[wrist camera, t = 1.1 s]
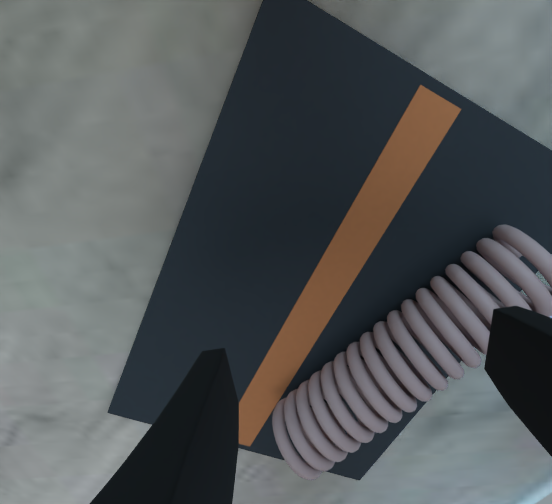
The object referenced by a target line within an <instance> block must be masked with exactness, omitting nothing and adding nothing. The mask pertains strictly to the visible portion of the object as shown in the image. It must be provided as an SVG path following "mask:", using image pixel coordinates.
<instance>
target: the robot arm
mask: <svg viewBox="0 0 552 504" xmlns="http://www.w3.org/2000/svg"><path fill="white" fill-rule="evenodd" d="M484 369H485V370H486V372H487V374H488V375H489V377H490V378H491V380H492V381H493V383H494V385H495V386H496V388H497V389H498V391H499V392H500V394H501V395H502V396H503V398H504V399H505V401H506V402H507V404H508V405H509V406H510V408H511V409H512V410H513V411H514V413H515V414H516V415H517V416H518V417H519V419H520V420H521V421H522V422H523V423H524V425H525V426H526V427H527V428H528V429H529V431H530V432H531V433H532V434H533V435H534V436H535V438H536V439H537V440H538V441H539V442H540V444H541V445H542V446H543V447H544V448H545V449H546V451H547V452H548V453H549V454H550V455H551V456H552V316H550V317H547V316H545V315H542V314H540V313H537V312H534V311H531V310H528V309H525V308H522V307H519V306H511V307H504V308H497V309H493V315H492V322H491V328H490V335H489V341H488V348H487V355H486V361H485V368H484ZM238 444H239V402H238V398H237V394H236V390H235V386H234V382H233V378H232V374H231V370H230V366H229V362H228V358H227V354H226V350H225V348H220V349H213V350H206V351H202V352H201V353H200V355H199V356H198V358H197V359H196V361H195V362H194V364H193V365H192V367H191V369H190V370H189V372H188V373H187V375H186V376H185V378H184V379H183V381H182V382H181V384H180V385H179V387H178V389H177V390H176V392H175V393H174V395H173V396H172V397H171V399H170V400H169V402H168V403H167V405H166V406H165V408H164V409H163V410H162V412H161V413H160V415H159V416H158V418H157V419H156V421H155V422H154V423H153V425H152V426H151V427H150V429H149V430H148V431H147V433H146V434H145V435H144V437H143V438H142V439H141V441H140V442H139V443H138V445H137V446H136V447H135V449H134V450H133V451H132V453H131V454H130V455H129V456H128V458H127V459H126V460H125V462H124V463H123V464H122V466H121V467H120V468H119V469H118V470H117V472H116V473H115V474H114V475H113V477H112V478H111V479H110V480H109V482H108V483H107V484H106V485H105V486H104V488H103V489H102V490H101V491H100V492H99V493H98V495H97V496H96V497H95V498H94V499H93V500H92V502H91V503H90V504H232V499H233V490H234V482H235V473H236V463H237V454H238Z"/></svg>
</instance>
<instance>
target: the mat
mask: <svg viewBox="0 0 552 504" xmlns="http://www.w3.org/2000/svg"><path fill="white" fill-rule="evenodd" d="M498 225H509V226H512V227H514V228H516V229H518V230H520V231H522V232H523V233H525V234H526V235H528V236H529V237H531V238H532V239H533V240H535V241H536V242H537V243H539V244H540V245H541V246H542V247H543V248H544V249H546V250H547V251H548V252H549V253H550V254H551V255H552V151H551V150H550V149H548V148H547V147H545V146H543V145H542V144H540V143H538V142H537V141H535V140H534V139H532V138H530V137H529V136H527V135H525V134H524V133H522V132H520V131H519V130H517V129H516V128H514V127H512V126H511V125H509V124H507V123H506V122H504V121H503V120H501V119H499V118H498V117H496V116H494V115H493V114H491V113H489V112H488V111H486V110H485V109H483V108H481V107H480V106H478V105H476V104H475V103H473V102H472V101H470V100H468V99H467V98H465V97H463V96H462V95H460V94H459V93H457V92H455V91H454V90H452V89H450V88H449V87H447V86H445V85H444V84H442V83H441V82H439V81H437V80H436V79H434V78H432V77H431V76H429V75H428V74H426V73H424V72H423V71H421V70H419V69H418V68H416V67H415V66H413V65H411V64H410V63H408V62H406V61H405V60H403V59H401V58H400V57H398V56H397V55H395V54H393V53H392V52H390V51H388V50H387V49H385V48H384V47H382V46H380V45H379V44H377V43H375V42H374V41H372V40H370V39H369V38H367V37H366V36H364V35H362V34H361V33H359V32H357V31H356V30H354V29H353V28H351V27H349V26H348V25H346V24H344V23H343V22H341V21H340V20H338V19H336V18H335V17H333V16H331V15H330V14H328V13H326V12H325V11H323V10H322V9H320V8H318V7H317V6H315V5H313V4H312V3H310V2H309V1H307V0H263V2H262V5H261V7H260V10H259V12H258V15H257V18H256V20H255V23H254V26H253V28H252V31H251V34H250V36H249V39H248V42H247V44H246V47H245V50H244V52H243V55H242V58H241V60H240V63H239V65H238V68H237V71H236V73H235V76H234V79H233V81H232V84H231V87H230V89H229V92H228V95H227V97H226V100H225V103H224V105H223V108H222V111H221V113H220V116H219V118H218V121H217V124H216V126H215V129H214V132H213V134H212V137H211V140H210V142H209V145H208V148H207V150H206V153H205V156H204V158H203V161H202V164H201V166H200V169H199V171H198V174H197V177H196V179H195V182H194V185H193V187H192V190H191V193H190V195H189V198H188V201H187V203H186V206H185V209H184V211H183V214H182V217H181V219H180V222H179V224H178V227H177V230H176V232H175V235H174V238H173V240H172V243H171V246H170V248H169V251H168V254H167V256H166V259H165V262H164V264H163V267H162V270H161V272H160V275H159V277H158V280H157V283H156V285H155V288H154V291H153V293H152V296H151V299H150V301H149V304H148V307H147V309H146V312H145V315H144V317H143V320H142V323H141V325H140V328H139V330H138V333H137V336H136V338H135V341H134V344H133V346H132V349H131V352H130V354H129V357H128V360H127V362H126V365H125V368H124V370H123V373H122V376H121V378H120V381H119V383H118V386H117V389H116V391H115V394H114V397H113V399H112V402H111V405H110V407H109V410H108V413H111V414H114V415H118V416H122V417H125V418H129V419H133V420H137V421H140V422H144V423H148V424H152V425H153V423H154V422H155V421H156V419H157V418H158V416H159V415H160V413H161V412H162V410H163V409H164V408H165V406H166V405H167V403H168V402H169V400H170V399H171V397H172V396H173V395H174V393H175V392H176V390H177V389H178V387H179V385H180V384H181V382H182V381H183V379H184V378H185V376H186V375H187V373H188V372H189V370H190V369H191V367H192V365H193V364H194V362H195V361H196V359H197V358H198V356H199V355H200V353H201V352H202V351H206V350H213V349H220V348H225V350H226V354H227V358H228V362H229V366H230V370H231V374H232V378H233V382H234V386H235V390H236V394H237V398H238V402H239V444H238V448H241V449H245V450H248V451H252V452H256V453H260V454H263V455H267V456H271V457H274V458H278V459H282V460H285V459H284V458H283V456H282V454H281V452H280V450H279V448H278V445H277V443H276V440H275V436H274V432H273V425H272V416H273V411H274V408H275V407H276V405H277V403H278V402H279V401H280V400H282V399H284V398H287V396H288V394H289V393H290V392H291V391H293V390H295V389H298V388H299V386H300V384H301V383H303V382H304V381H306V380H310V378H311V376H312V375H313V374H314V373H315V372H317V371H322V368H323V366H324V365H325V364H326V363H328V362H330V361H334V359H335V357H336V355H337V354H339V353H341V352H346V351H347V348H348V346H349V345H350V344H351V343H353V342H360V338H361V336H362V334H363V333H365V332H373V327H374V325H375V324H376V323H377V322H379V321H385V322H387V316H388V314H389V312H391V311H393V310H398V311H400V312H402V310H401V304H402V303H403V301H405V300H406V299H412V300H414V301H416V302H417V303H418V301H417V299H416V292H417V290H418V289H420V288H426V289H428V290H430V291H432V292H433V293H434V294H436V293H435V291H434V290H433V289H432V287H431V285H430V281H431V279H432V278H433V277H435V276H440V277H443V278H444V279H445V280H447V281H448V282H449V283H450V284H451V285H452V286H454V287H455V288H456V289H457V290H458V291H459V292H460V293H462V294H463V295H464V296H465V297H466V298H467V296H466V295H465V294H464V293H463V292H462V291H461V290H460V289H459V288H458V287H457V286H456V284H455V283H454V282H453V281H452V280H451V279H450V278H449V277H448V276H447V274H446V272H445V269H446V267H447V266H448V265H450V264H456V265H459V266H460V267H461V268H462V269H463V270H464V271H465V272H467V273H468V274H469V275H470V276H471V277H472V278H473V279H474V280H475V281H476V282H477V283H478V284H479V285H480V286H481V287H482V288H484V289H485V290H486V291H487V292H489V293H490V294H491V295H492V296H494V297H495V298H496V299H498V300H499V301H500V302H501V300H500V299H499V298H498V297H497V296H496V295H495V294H494V293H493V292H492V290H491V289H490V288H489V287H488V286H487V285H485V284H484V283H483V282H482V281H481V280H480V279H478V278H477V277H476V276H475V275H474V274H473V273H472V272H471V271H470V270H468V269H467V268H466V266H465V265H464V264H463V263H462V262H461V255H462V254H463V253H464V252H466V251H472V252H474V253H476V254H478V255H479V256H481V257H482V258H483V259H485V258H484V257H483V256H482V255H481V254H480V253H479V252H478V250H477V247H476V244H477V242H478V241H479V240H481V239H482V238H489V239H492V240H494V238H493V234H492V231H493V230H494V228H495V227H497V226H498ZM494 241H495V240H494ZM519 259H520V260H521V261H522V262H523V263H524V264H525V265H526V266H527V267H528V268H529V269H530V270H531V271H532V272H533V273H534V274H535V273H536V272H537V271H538V270H537V269H536V268H535V267H534V265H533V264H532V263H530V262H529V261H528V260H527V259H526V258H525V257H524V256H523V255H522V256H521V257H519ZM485 260H486V259H485ZM486 261H487V260H486ZM487 262H488V261H487ZM488 263H489V262H488ZM489 264H490V263H489ZM490 265H491V264H490ZM491 266H492V265H491ZM496 270H497V269H496ZM497 271H498V270H497ZM498 272H499V271H498ZM499 273H500V272H499ZM500 274H501V273H500ZM501 275H502V276H503V277H504V278H505V279H506V280H507V281H508V282H509V283H510V284H511V285H512V286H513V287H514V288H515V289H516V290H517V291H519V292H520V291H521V290H522V288H520V287H519V286H518V285H516V284H515V283H513V282H512V281H511V280H509V279H508V278H507V277H505V276H504V275H503V274H501ZM436 295H437V294H436ZM437 296H438V295H437ZM467 299H468V298H467ZM410 335H411V334H410ZM411 336H412V335H411ZM412 338H413V339H414V341H415V342H416V343H417V345H418V346H419V347H420V349H421V350H422V351H423V352H424V353H425V354H426V355H427V356H428V358H429V359H430V360H431V361H432V362H433V363H434V364H435V365H436V366H437V368H438V369H439V370H440V371H441V372H442V374H443V375H444V376H445V378H447V377H448V376H449V375H448V374H447V373H446V372H445V371H444V370H443V368H442V367H441V366H440V365H439V364H438V363H437V361H436V360H435V359H434V358H433V356H432V355H431V354H430V353H429V352H428V351H427V350H426V349H425V348H424V347H423V346H422V345H421V344H420V343H419V342H418V341H417V340H416V339H415V338H414V337H413V336H412ZM391 340H392V339H391ZM439 340H440V339H439ZM440 341H441V340H440ZM392 342H393V344H394V346H395V347H396V348H397V349H398V350H399V351H400V352H401V353H402V354H403V355H404V356H405V357H406V358H407V359H408V357H407V356H406V355H405V353H404V352H403V350H402V349H401V347H400V346H399V345H398V344H396V343H395V342H394V341H393V340H392ZM441 342H442V341H441ZM442 343H443V342H442ZM469 343H470V342H469ZM470 344H471V343H470ZM443 345H444V346H445V347H446V348H447V350H448V351H449V352H450V353H451V354H452V356H453V357H454V358H455V359H456V360H457V362H458V363H460V362H461V361H462V360H461V359H460V358H459V357H458V356H457V355H456V354H455V353H454V352H453V351H452V350H451V349H450V348H449V347H448V346H447V345H445V344H444V343H443ZM471 345H472V344H471ZM472 346H473V345H472ZM375 349H376V351H377V352H378V353H379V354H380V355H381V356H382V357H383V355H382V353H381V351H380V350H379V349H378V348H376V347H375ZM360 357H361V359H363V360H364V358H363V357H362V356H360ZM383 358H384V357H383ZM384 359H385V358H384ZM408 360H409V359H408ZM364 361H365V360H364ZM409 362H410V363H411V361H410V360H409ZM411 364H412V363H411ZM412 365H413V364H412ZM347 366H348V365H347ZM413 366H414V365H413ZM348 367H349V366H348ZM416 370H417V369H416ZM417 371H418V370H417ZM334 375H335V374H334ZM421 376H422V375H421ZM422 377H423V376H422ZM424 380H425V379H424ZM425 381H426V380H425ZM426 383H427V384H428V385H429V387H430V389H431V391H432V395H433V393H434V392H435V391H436V390H437V389H435V388H433V387H432V386H431V385H430V384H429V383H428V382H427V381H426ZM339 395H340V394H339ZM359 395H360V394H359ZM360 396H361V395H360ZM340 397H341V399H342V401H343V402H344V403H345V404H346V406H347V407H348V409H349V410H350V412H351V413H352V415H353V417H354V418H355V420H356V421H357V422H358V419H357V417H356V415H355V413H354V412H353V411H352V409H351V408H350V406H349V405H348V403H347V402H346V400H345V399H344V398H343V397H342V396H341V395H340ZM361 398H362V397H361ZM415 398H416V397H415ZM323 399H324V398H323ZM362 399H363V398H362ZM324 401H325V403H326V404H327V405H328V403H327V401H326V400H325V399H324ZM363 401H364V400H363ZM416 401H417V408H416V410H415V411H413V412H405V411H404V410H402V418H401V420H400V421H399V422H397V423H392V422H389V421H388V427H387V429H386V431H384V432H382V433H376V432H374V437H373V439H372V440H371V441H370V442H368V443H362V442H361V445H360V447H359V449H358V450H357V451H355V452H353V453H350V452H348V454H347V456H346V458H345V459H344V460H342V461H341V462H335V463H334V465H333V467H332V468H331V469H329V470H328V471H327V472H330V473H334V474H338V475H341V476H345V477H349V478H353V479H356V480H360V479H361V478H362V477H363V476H364V475H365V473H366V472H367V471H368V470H369V469H370V468H371V466H372V465H373V464H374V463H375V462H376V461H377V459H378V458H379V457H380V456H381V455H382V453H383V452H384V451H385V450H386V449H387V448H388V446H389V445H390V444H391V443H392V442H393V441H394V439H395V438H396V437H397V436H398V435H399V433H400V432H401V431H402V430H403V429H404V428H405V426H406V425H407V424H408V423H409V422H410V421H411V419H412V418H413V417H414V416H415V415H416V413H417V412H418V411H419V410H420V409H421V408H422V406H423V405H424V404H425V403H426V402H424V401H420V400H419V399H417V398H416ZM364 402H365V401H364ZM365 403H366V402H365ZM366 405H367V404H366ZM328 406H329V405H328ZM310 407H311V408H312V406H311V405H310ZM297 413H298V412H297ZM358 423H359V422H358ZM285 425H286V422H285ZM343 429H344V428H343ZM286 430H287V434H288V437H289V439H290V441H291V443H292V445H293V447H294V449H295V451H296V452H297V453H298V455H299V456H300V457H301V458H302V459H303V460H304V458H303V457H302V456H301V455H300V453H299V452H298V450H297V449H296V447H295V445H294V443H293V442H292V440H291V437H290V435H289V432H288V429H287V426H286ZM344 432H345V434H346V435H347V431H346V430H345V429H344ZM334 445H335V443H334ZM304 461H305V460H304ZM305 462H306V461H305Z"/></svg>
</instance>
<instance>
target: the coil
mask: <svg viewBox="0 0 552 504" xmlns="http://www.w3.org/2000/svg"><path fill="white" fill-rule="evenodd" d="M492 234H493V238H494V240H495V241H494V240H492V239H489V238H482V239H481V240H479V241H478V242H477V244H476V247H477V250H478V252H479V253H480V254H481V255H482V256H483V257H484V258H485V259H486V260H487V261H488V262H489V263H490V264H491V265H492V266H491V265H490V264H489V263H488V262H487V261H486V260H485V259H483V258H482V257H481V256H479V255H478V254H476V253H474V252H472V251H466V252H464V253H463V254H462V255H461V262H462V263H463V264H464V265H465V266H466V268H467V269H468V270H470V271H471V272H472V273H473V274H474V275H475V276H476V277H477V278H478V279H480V280H481V281H482V282H483V283H484V284H485V285H487V286H488V287H489V288H490V289H491V290H492V292H493V293H494V294H495V295H496V296H497V297H498V298H499V299H500V300H501V302H500V301H499V300H498V299H496V298H495V297H494V296H492V295H491V294H490V293H489V292H487V291H486V290H485V289H484V288H482V287H481V286H480V285H479V284H478V283H477V282H476V281H475V280H474V279H473V278H472V277H471V276H470V275H469V274H468V273H467V272H465V271H464V270H463V269H462V268H461V267H460V266H459V265H456V264H450V265H448V266H447V267H446V269H445V272H446V274H447V276H448V277H449V278H450V279H451V280H452V281H453V282H454V283H455V284H456V286H457V287H458V288H459V289H460V290H461V291H462V292H463V293H464V294H465V295H466V296H467V298H468V299H467V298H466V297H465V296H464V295H463V294H462V293H460V292H459V291H458V290H457V289H456V288H455V287H454V286H452V285H451V284H450V283H449V282H448V281H447V280H445V279H444V278H443V277H440V276H435V277H433V278H432V279H431V281H430V285H431V287H432V289H433V290H434V291H435V293H436V294H437V295H438V296H437V295H436V294H434V293H433V292H432V291H430V290H428V289H426V288H420V289H418V290H417V292H416V299H417V301H418V303H417V302H416V301H414V300H412V299H406V300H405V301H403V303H402V304H401V310H402V312H400V311H398V310H393V311H391V312H389V314H388V316H387V322H385V321H379V322H377V323H376V324H375V325H374V327H373V332H365V333H363V334H362V336H361V338H360V342H353V343H351V344H350V345H349V346H348V348H347V351H346V352H341V353H339V354H337V355H336V357H335V359H334V361H330V362H328V363H326V364H325V365H324V366H323V368H322V371H317V372H315V373H314V374H313V375H312V376H311V378H310V380H306V381H304V382H303V383H301V384H300V386H299V388H298V389H295V390H293V391H291V392H290V393H289V394H288V396H287V398H284V399H282V400H280V401H279V402H278V403H277V405H276V407H275V408H274V411H273V416H272V425H273V432H274V436H275V440H276V443H277V445H278V448H279V450H280V452H281V454H282V456H283V458H284V459H285V461H286V462H287V464H288V465H289V467H290V468H291V469H292V470H293V471H294V472H295V473H296V474H297V475H299V476H300V477H301V478H304V479H307V480H315V479H316V478H318V477H319V476H320V475H321V473H322V471H328V470H329V469H331V468H332V467H333V465H334V463H335V462H341V461H342V460H344V459H345V458H346V456H347V454H348V452H350V453H353V452H355V451H357V450H358V449H359V447H360V445H361V442H362V443H368V442H370V441H371V440H372V439H373V437H374V432H376V433H382V432H384V431H386V429H387V427H388V421H389V422H392V423H397V422H399V421H400V420H401V418H402V410H404V411H405V412H413V411H415V410H416V408H417V401H416V398H417V399H419V400H420V401H424V402H427V401H429V400H431V398H432V391H431V389H430V387H429V385H428V384H427V383H426V381H427V382H428V383H429V384H430V385H431V386H432V387H433V388H435V389H437V390H441V391H443V390H445V389H446V388H447V386H448V381H447V379H446V378H445V376H444V375H443V374H442V372H441V371H440V370H439V369H438V368H437V366H436V365H435V364H434V363H433V362H432V361H431V360H430V359H429V358H428V356H427V355H426V354H425V353H424V352H423V351H422V350H421V349H420V347H419V346H418V345H417V343H416V342H415V341H414V339H413V338H412V336H413V337H414V338H415V339H416V340H417V341H418V342H419V343H420V344H421V345H422V346H423V347H424V348H425V349H426V350H427V351H428V352H429V353H430V354H431V355H432V356H433V358H434V359H435V360H436V361H437V363H438V364H439V365H440V366H441V367H442V368H443V370H444V371H445V372H446V373H447V374H448V375H449V376H450V377H452V378H453V379H461V378H463V376H464V369H463V368H462V367H461V365H460V364H459V363H458V362H457V360H456V359H455V358H454V357H453V356H452V354H451V353H450V352H449V351H448V350H447V348H446V347H445V346H444V345H443V343H444V344H445V345H447V346H448V347H449V348H450V349H451V350H452V351H453V352H454V353H455V354H456V355H457V356H458V357H459V358H460V359H461V360H462V361H463V362H464V363H465V364H466V365H467V366H469V367H471V368H476V367H478V366H480V364H481V357H480V356H479V354H478V353H477V351H476V350H475V349H474V348H473V346H474V347H475V348H476V349H478V350H479V351H480V352H482V353H483V354H485V355H487V348H488V341H489V335H490V328H491V322H492V315H493V309H497V308H504V307H511V306H519V307H522V308H525V309H528V310H531V311H534V312H537V313H540V314H542V315H545V316H547V317H550V316H552V255H551V254H550V253H549V252H548V251H547V250H546V249H544V248H543V247H542V246H541V245H540V244H539V243H537V242H536V241H535V240H533V239H532V238H531V237H529V236H528V235H526V234H525V233H523V232H522V231H520V230H518V229H516V228H514V227H512V226H509V225H498V226H497V227H495V228H494V230H493V231H492ZM522 255H523V256H524V257H525V258H526V259H527V260H528V261H529V262H530V263H532V264H533V265H534V267H535V268H536V269H537V270H538V271H539V272H540V273H541V274H542V275H543V276H544V278H545V279H546V280H547V282H548V283H549V284H550V286H551V287H549V286H547V285H545V284H543V283H542V282H541V280H540V279H539V278H538V277H537V276H536V275H535V274H534V273H533V272H532V271H531V270H530V269H529V268H528V267H527V266H526V265H525V264H524V263H523V262H522V261H521V260H520V259H519V257H521V256H522ZM496 269H497V270H498V271H499V272H500V273H501V274H503V275H504V276H505V277H507V278H508V279H509V280H511V281H512V282H513V283H515V284H516V285H518V286H519V287H520V288H522V290H523V291H524V292H525V293H526V295H527V296H528V297H527V296H525V295H524V294H522V293H521V292H519V291H517V290H516V289H515V288H514V287H513V286H512V285H511V284H510V283H509V282H508V281H507V280H506V279H505V278H504V277H503V276H502V275H501V274H500V273H499V272H498V271H497V270H496ZM410 334H411V335H412V336H411V335H410ZM391 339H392V340H393V341H394V342H395V343H396V344H398V345H399V346H400V347H401V349H402V350H403V352H404V353H405V355H406V356H407V357H408V359H409V360H410V361H411V363H412V364H413V365H414V366H413V365H412V364H411V363H410V362H409V360H408V359H407V358H406V357H405V356H404V355H403V354H402V353H401V352H400V351H399V350H398V349H397V348H396V347H395V346H394V344H393V342H392V340H391ZM439 339H440V340H441V341H442V342H443V343H442V342H441V341H440V340H439ZM469 342H470V343H471V344H472V345H473V346H472V345H471V344H470V343H469ZM375 347H376V348H378V349H379V350H380V351H381V353H382V355H383V357H384V358H385V359H384V358H383V357H382V356H381V355H380V354H379V353H378V352H377V351H376V349H375ZM360 356H362V357H363V358H364V360H365V361H364V360H363V359H361V357H360ZM347 365H348V366H349V367H348V366H347ZM416 369H417V370H418V371H417V370H416ZM334 374H335V375H334ZM421 375H422V376H423V377H422V376H421ZM424 379H425V380H426V381H425V380H424ZM339 394H340V395H341V396H342V397H343V398H344V399H345V400H346V402H347V403H348V405H349V406H350V408H351V409H352V411H353V412H354V413H355V415H356V417H357V419H358V422H359V423H358V422H357V421H356V420H355V418H354V417H353V415H352V413H351V412H350V410H349V409H348V407H347V406H346V404H345V403H344V402H343V401H342V399H341V397H340V395H339ZM359 394H360V395H361V396H360V395H359ZM361 397H362V398H363V399H362V398H361ZM415 397H416V398H415ZM323 398H324V399H325V400H326V401H327V403H328V405H329V406H328V405H327V404H326V403H325V401H324V399H323ZM363 400H364V401H365V402H366V403H365V402H364V401H363ZM366 404H367V405H366ZM310 405H311V406H312V408H311V407H310ZM297 412H298V413H297ZM285 422H286V425H285ZM286 426H287V429H288V432H289V435H290V437H291V440H292V442H293V443H294V445H295V447H296V449H297V450H298V452H299V453H300V455H301V456H302V457H303V458H304V460H305V461H306V462H305V461H304V460H303V459H302V458H301V457H300V456H299V455H298V453H297V452H296V451H295V449H294V447H293V445H292V443H291V441H290V439H289V437H288V434H287V430H286ZM343 428H344V429H345V430H346V431H347V435H346V434H345V432H344V429H343ZM334 443H335V445H334Z"/></svg>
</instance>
